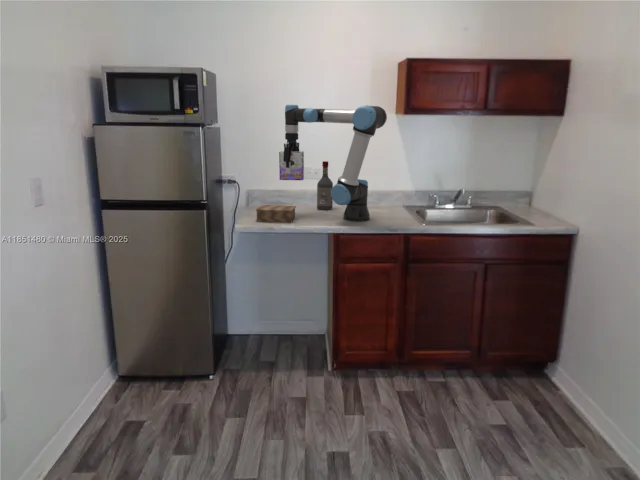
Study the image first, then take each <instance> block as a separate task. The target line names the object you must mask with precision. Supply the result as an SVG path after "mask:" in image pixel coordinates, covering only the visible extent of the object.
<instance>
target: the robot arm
mask: <svg viewBox="0 0 640 480" xmlns="http://www.w3.org/2000/svg"><path fill="white" fill-rule="evenodd" d="M387 116H388V115H387V113H386V110H385V109H384V108H383V107H381V106H380V105H367V104H366V105H362V106H359V107H357V108H356V109H343V108H341V109H339V108H311V107H309V108H306V107H305V108H304V107H303V108H301V107H299V105H298V104H286V105H285V107H284V119H285V121H284V126H285V127H284V130H285V131H284V132H285V133H284V138H285V140H286V143H283V151H284V159H283V160H284V162H286V173H288V174H291V162H290V157H291V152H292V151H300V142H297V141H298V140H299V123H307V124H308V123H310V124H311V123H328V124H330V123H333V124H351V125H352V124H353V128H352V130H353V132H354V134H353V138H352V140H351V145H350V148H349V151H348V155H347V157H346V161H345V165H344V168H343V171H342V175H341V176H339V177H338V178H337V182H336V184H333V188H332V190H331V197H332V199H333V202H334V203H335V204H336V205H339V206H346V207H345V210H344V212H343V219H344V220H345V221H349V222H366V221H370V219H371V218H370V217H371V216H370V211H369V208H368V195H369V193H368V192H369V191H368V190H369V189H368V188H369V184H368V183H369V181H368V180H366V179H359V175H360V172H361V169H362V166H363V163H364V160H365V156H366V153H367V149H368V146H369V144H370V140H371V138H372V137H374V136H375V134H376V131H377V129H381V128H382V127H384V125H386V124H385V123H386V122H387V119H388V117H387Z"/></svg>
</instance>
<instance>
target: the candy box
mask: <svg viewBox="0 0 640 480" xmlns="http://www.w3.org/2000/svg"><path fill="white" fill-rule="evenodd" d="M278 153H279V155H278V157H279V162H278V165H279V181H303V180H304V179H305V160H304V159H305V152H304V151H301V150H299V151H292V152H291V157H290V162H291V174H288V173H286V162H284V160H283V159H284V150H283V151H279V152H278Z"/></svg>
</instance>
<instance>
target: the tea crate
mask: <svg viewBox="0 0 640 480" xmlns="http://www.w3.org/2000/svg"><path fill="white" fill-rule="evenodd" d="M255 211H256V222H257V223H275V224H276V223H278V224H280V223H283V224H292V223H293V221H295V219H296V205H275V204H274V205H271V204H270V205H269V204H260V206H258V207H257V208H256V209H255ZM294 218H295V219H294ZM291 222H292V223H291Z"/></svg>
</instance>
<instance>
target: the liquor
mask: <svg viewBox="0 0 640 480" xmlns="http://www.w3.org/2000/svg"><path fill="white" fill-rule="evenodd" d="M321 166H322V176H321V178H320V179H319V180H318V182H317V184H316V185H317V186H316V190H317V192H316V208H317V211H318V210H319V211H331V210H332V209H333V202H334V201H333V199H332V197H331V190H332V188H333V186H334V183H333V181H332V180H331V178H329V174H328V173H329V161H327V160H326V161H322V165H321Z"/></svg>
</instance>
